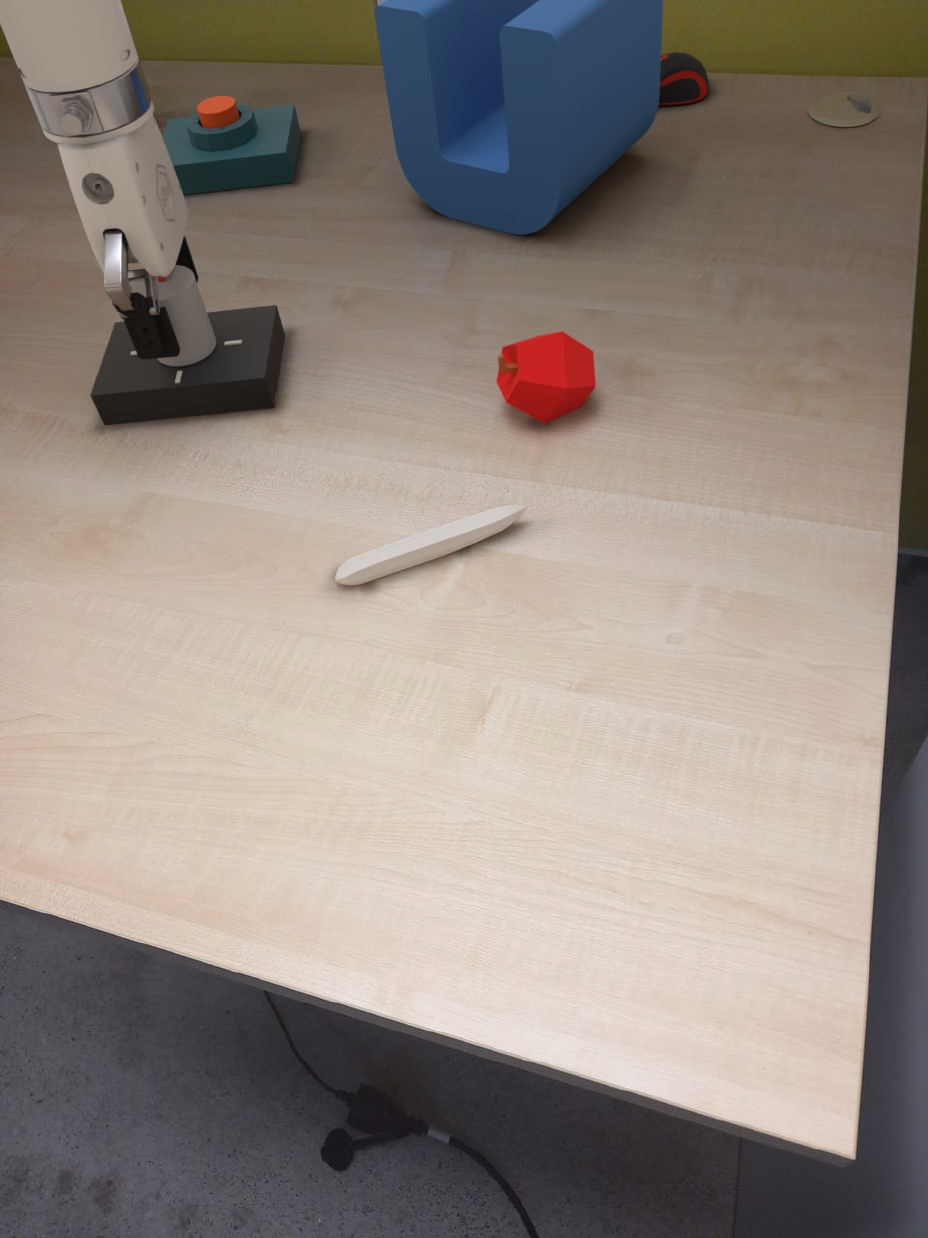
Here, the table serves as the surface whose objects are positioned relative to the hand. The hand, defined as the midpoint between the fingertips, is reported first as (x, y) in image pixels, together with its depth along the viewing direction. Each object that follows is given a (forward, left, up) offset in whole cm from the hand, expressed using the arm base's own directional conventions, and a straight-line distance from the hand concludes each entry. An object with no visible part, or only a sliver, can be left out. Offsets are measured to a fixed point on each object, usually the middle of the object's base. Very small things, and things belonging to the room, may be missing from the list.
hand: (170, 318), depth 81 cm
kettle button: (-23, +30, -1) cm, 38 cm away
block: (+9, +39, -6) cm, 41 cm away
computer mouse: (+12, +60, -6) cm, 62 cm away
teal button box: (-23, +30, -6) cm, 38 cm away
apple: (+28, +10, -6) cm, 31 cm away
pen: (+30, -7, -6) cm, 31 cm away
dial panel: (0, 0, -6) cm, 6 cm away
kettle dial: (0, 0, -3) cm, 3 cm away
